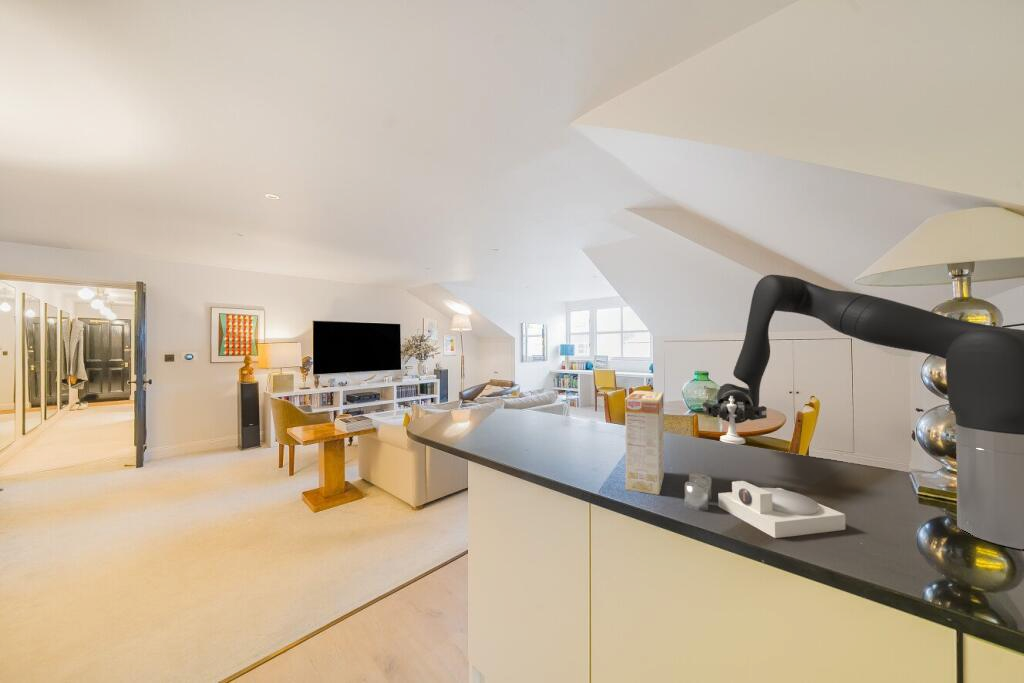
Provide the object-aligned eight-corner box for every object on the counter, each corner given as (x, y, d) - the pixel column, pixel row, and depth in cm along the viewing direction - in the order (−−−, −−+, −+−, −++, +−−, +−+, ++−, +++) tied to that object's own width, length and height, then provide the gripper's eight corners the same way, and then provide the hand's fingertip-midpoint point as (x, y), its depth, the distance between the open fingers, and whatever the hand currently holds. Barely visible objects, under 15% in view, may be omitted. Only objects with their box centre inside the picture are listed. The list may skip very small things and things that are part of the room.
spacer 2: (698, 501, 74) (698, 480, 74) (713, 510, 70) (713, 488, 70) (680, 503, 73) (680, 482, 73) (694, 511, 69) (694, 490, 69)
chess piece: (738, 438, 85) (737, 394, 86) (750, 444, 81) (749, 397, 81) (715, 438, 86) (715, 394, 86) (725, 443, 81) (725, 397, 81)
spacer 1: (701, 492, 78) (701, 472, 78) (715, 499, 74) (715, 479, 75) (684, 493, 78) (684, 474, 78) (698, 501, 74) (698, 480, 74)
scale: (779, 500, 74) (779, 471, 74) (845, 529, 62) (845, 495, 62) (718, 506, 71) (718, 476, 71) (774, 538, 59) (774, 501, 59)
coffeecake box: (634, 469, 93) (634, 390, 93) (665, 473, 90) (665, 391, 90) (623, 489, 79) (623, 397, 80) (659, 495, 76) (659, 399, 77)
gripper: (704, 389, 99) (695, 396, 85) (767, 392, 92) (769, 400, 77) (704, 418, 99) (696, 429, 85) (768, 423, 92) (770, 437, 77)
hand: (731, 415), depth 81 cm, fingers closed on chess piece
